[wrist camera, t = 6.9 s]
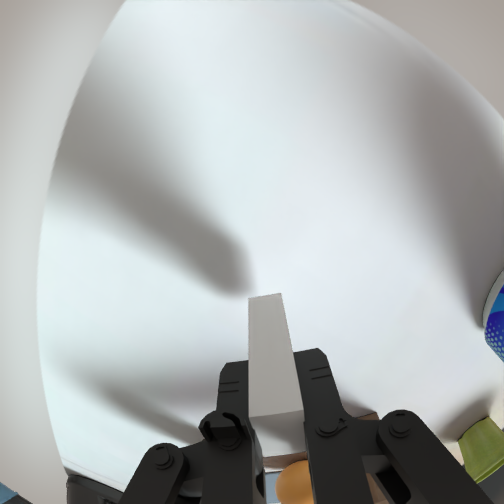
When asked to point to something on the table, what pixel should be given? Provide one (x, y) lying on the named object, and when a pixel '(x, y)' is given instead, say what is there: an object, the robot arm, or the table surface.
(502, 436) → the plant pot
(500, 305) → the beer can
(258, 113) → the table surface
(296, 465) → the ball
